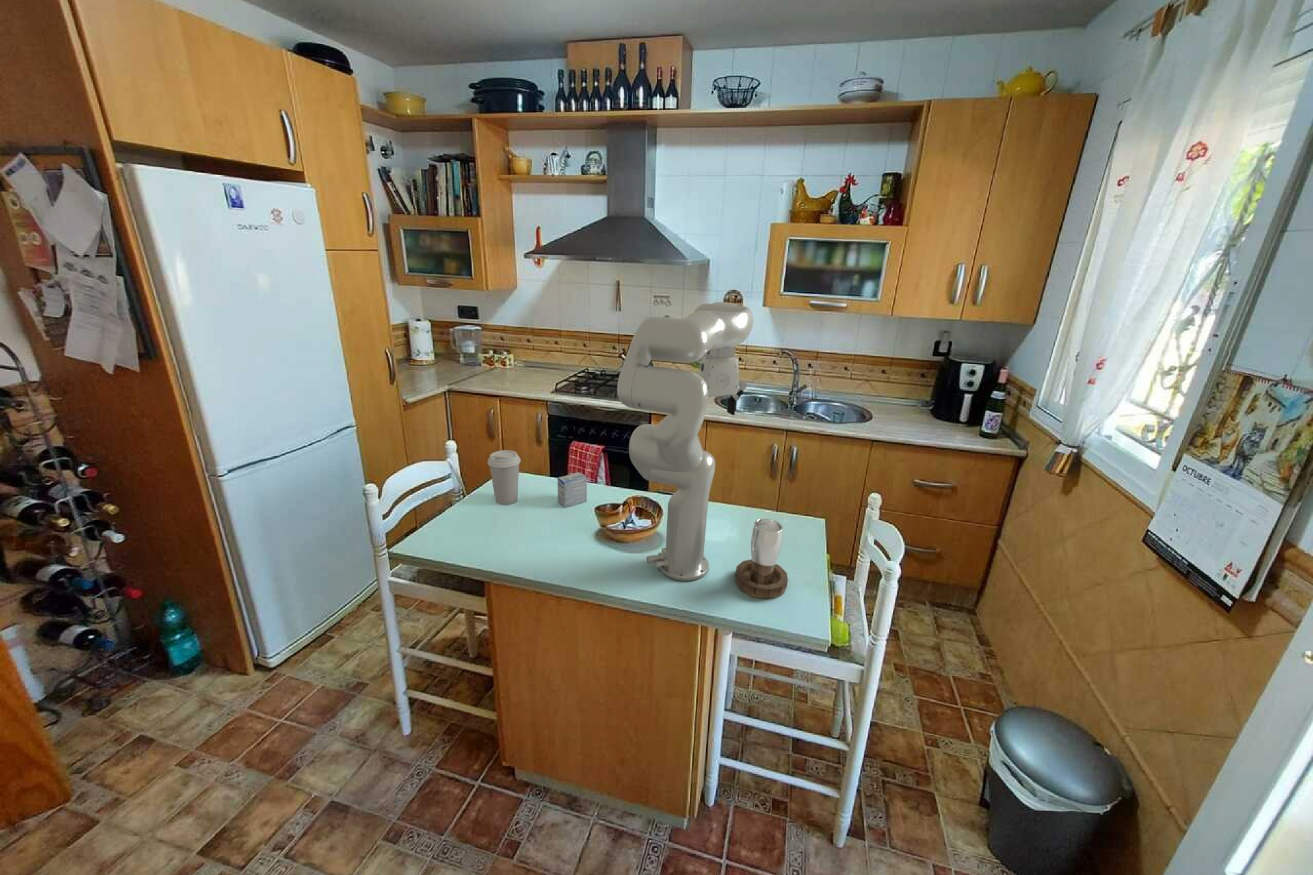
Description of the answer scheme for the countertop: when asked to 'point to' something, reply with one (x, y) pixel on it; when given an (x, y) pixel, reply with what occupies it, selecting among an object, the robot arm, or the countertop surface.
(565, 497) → the medicine box
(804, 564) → the countertop surface
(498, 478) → the coffee cup
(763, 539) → the beer glass
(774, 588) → the round tray
